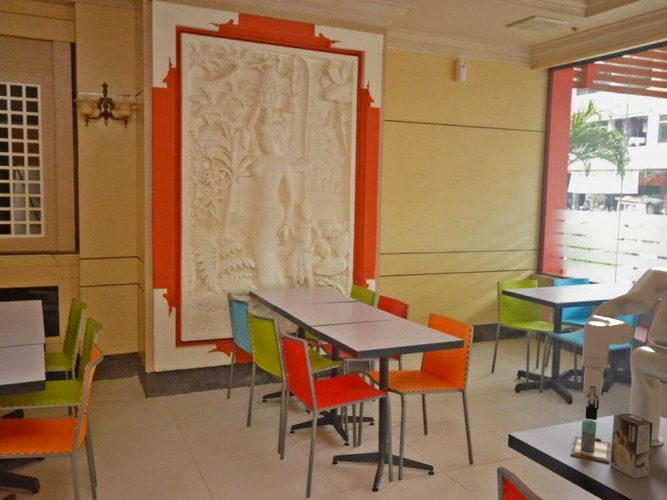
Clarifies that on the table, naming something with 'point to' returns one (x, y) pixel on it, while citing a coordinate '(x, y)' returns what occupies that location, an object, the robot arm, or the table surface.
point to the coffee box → (631, 445)
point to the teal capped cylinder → (588, 435)
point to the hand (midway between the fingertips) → (592, 413)
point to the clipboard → (599, 453)
